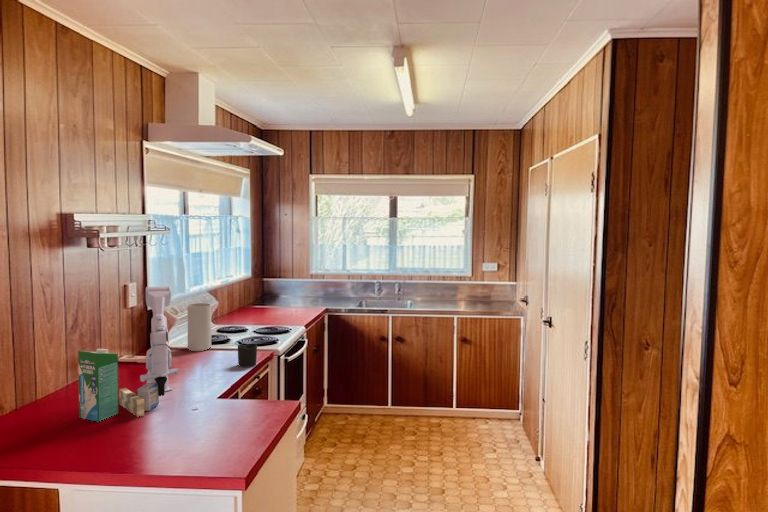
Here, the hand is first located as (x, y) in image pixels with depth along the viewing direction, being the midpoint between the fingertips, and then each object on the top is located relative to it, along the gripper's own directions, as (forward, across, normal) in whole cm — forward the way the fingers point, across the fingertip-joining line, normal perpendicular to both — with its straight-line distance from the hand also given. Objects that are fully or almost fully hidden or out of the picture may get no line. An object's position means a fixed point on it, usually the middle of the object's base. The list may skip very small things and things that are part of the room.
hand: (160, 395), depth 204 cm
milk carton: (+3, -22, +2) cm, 22 cm away
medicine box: (+3, -5, -1) cm, 6 cm away
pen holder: (+4, +55, +26) cm, 61 cm away
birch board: (+3, -11, +1) cm, 11 cm away
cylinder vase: (+4, +53, +72) cm, 90 cm away
